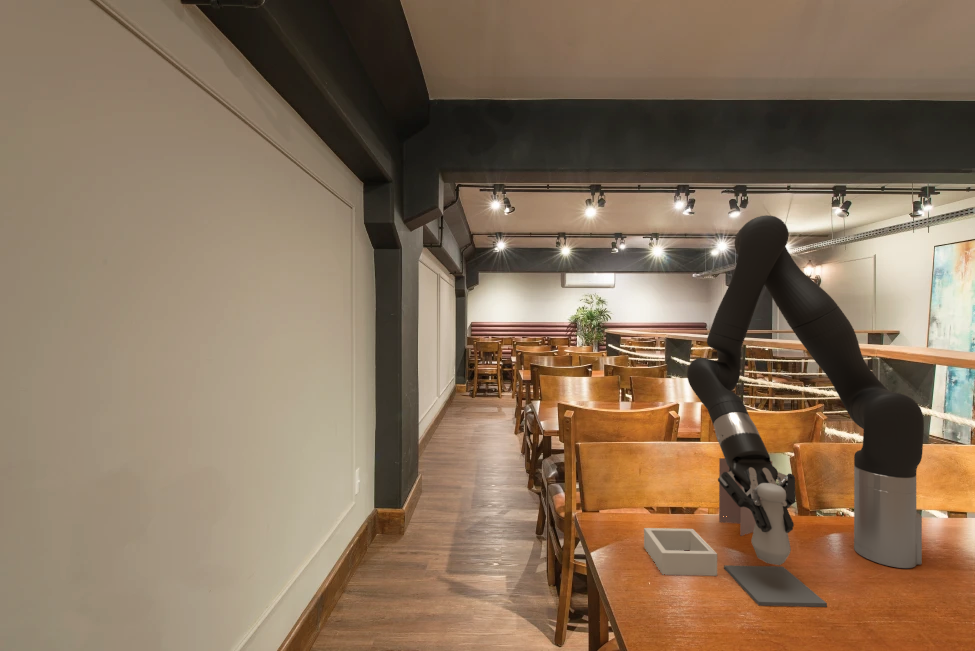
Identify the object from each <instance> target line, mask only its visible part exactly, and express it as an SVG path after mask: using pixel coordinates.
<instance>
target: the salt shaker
mask: <svg viewBox="0 0 975 651" xmlns="http://www.w3.org/2000/svg"><path fill="white" fill-rule="evenodd" d="M757 494H758V496H759V497H760V498H761V505H760V507H763V508H764V510H765V512H766V514H767V517H768V519H769V521H770V524H771V527H772V529H771V530H770V531H769V532H762V530H761V529H760V528H759V527H758V526H757V524H756V523H755V527H754V531H753V532H752V537H751V539H750V540H751V541H750V542H751V545H752V547H753V549H754V551H755V554H756V557H757V559H759V560H761V561H763V562H765V563H766V564H769V565H774V566H781V565H782V564H785V562H786V561H787V558H788V557H789V555H790V554H791V550H792V549H791V543H790V537H789V533H786V531H785V525H784V517H783V514H784V511H783V506H782V502H784V501H785V499H786V491H785V490H784V489H783V488H782V486H779V484H777V485H775V484H771V483H761V484H759V485H758V487H757Z"/></svg>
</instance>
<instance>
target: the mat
mask: <svg viewBox="0 0 975 651" xmlns="http://www.w3.org/2000/svg"><path fill="white" fill-rule="evenodd" d="M723 569H724V571H726V572H727V573H728V575H729V576H730V577H732V579H733V580H734V581H735V582H736V583H737V584H738V585H739V586H740V588H742V589H743V590H744V592H746V594H747V595H748V596H749V597H750V598H751V599H752V600H753V601H754V602H755V604H757V605H758V606H760V607H761V606H765V607H766V606H769V607H771V606H772V607H812V608H815V607H816V608H821V607H823V608H827V607H828V603H827V602H826V601H825V600H824V599H822V598H821V597H820V596H819V595H818V594H816V593H815V592H814V591H813V590H812V589H811V588H810V587H808V586H807V585H806V584H804V583H803V582H802V580H800V579H799V578H797V577H796V576H795V575H794V574H793V573H791V571H789V570H788V569H787V568H786V567H785V566H781V565H773V566H772V565H770V566H769V565H723Z"/></svg>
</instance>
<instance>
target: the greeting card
mask: <svg viewBox="0 0 975 651" xmlns="http://www.w3.org/2000/svg"><path fill="white" fill-rule="evenodd" d="M770 461H771V464H772V465H773V460H770ZM718 462H719V466H718V467H719V469H718V470H719V471H718V472H719V473H718V474H719V475H718V476H719V477H720V476H721V475H722V473H723V472H727V473H728V472H729V466H728V465H727V463H726V460H725V457H724V458H719V461H718ZM719 477H718V478H719ZM735 482H736V483H737V484H738V485H739V487H740V488H741V489H742V490H743V488H742V486H741V485H740V484H739V483H738V482H737V481H736V480H735ZM718 484H719V487H718V489H719V492H718V493H719V495H718V499H719V500H718V502H719V504H718V506H719V507H718V513H719V514H718V516H719V517H718V519H719V520H718V522H719V523H722V522H723V523H727V524H740V528H739V529H740V530H739V532H740V537H742V536H746V535H749V534H751V533H752V534H753V531H754V527H755V523H756V522H755V519H754V517H753V514H752V512H751V510H750V509H748V508H746V507H739V506H738V505H737V504H736V502H735V501H734V500H733V499H732V498H731V496H730V495H729V494H728V493H727V491H726V490H725V489H724V488H723V487H722V485H721V484H720V483H719V482H718ZM760 501H761V498H760ZM723 516H724V517H723ZM726 516H727V517H726ZM723 523H722V524H723ZM745 534H746V535H745Z"/></svg>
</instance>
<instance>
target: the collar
mask: <svg viewBox="0 0 975 651" xmlns="http://www.w3.org/2000/svg"><path fill="white" fill-rule="evenodd" d="M643 548H644V550H645V549H646V550H645V551H646V553H647V552H648V553H647V554H648V556H649V555H650V556H651V557H650V556H649V557H650V558H652V559H653V560H652V559H651V560H652V562H653V561H654V562H655V563H654V562H653V563H654V565H655V564H656V565H655V566H656V567H658V568H657V569H658V570H660V571H659V572H660V574H661V573H662V574H661V575H662V576H664V574H665V576H710V577H711V576H712V577H713V576H714V577H715V576H716V577H717V576H718V553H717V552H716V551H715V550H714V549H713V548H712V547H711V546H710V544H708V542H706V541H705V540H704V539H703V537H701V536H700V534H699V533H698V532H696V530H695V529H693V528H668V527H667V528H665V527H662V528H661V527H659V528H658V527H644V528H643ZM684 550H690V551H684Z"/></svg>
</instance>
